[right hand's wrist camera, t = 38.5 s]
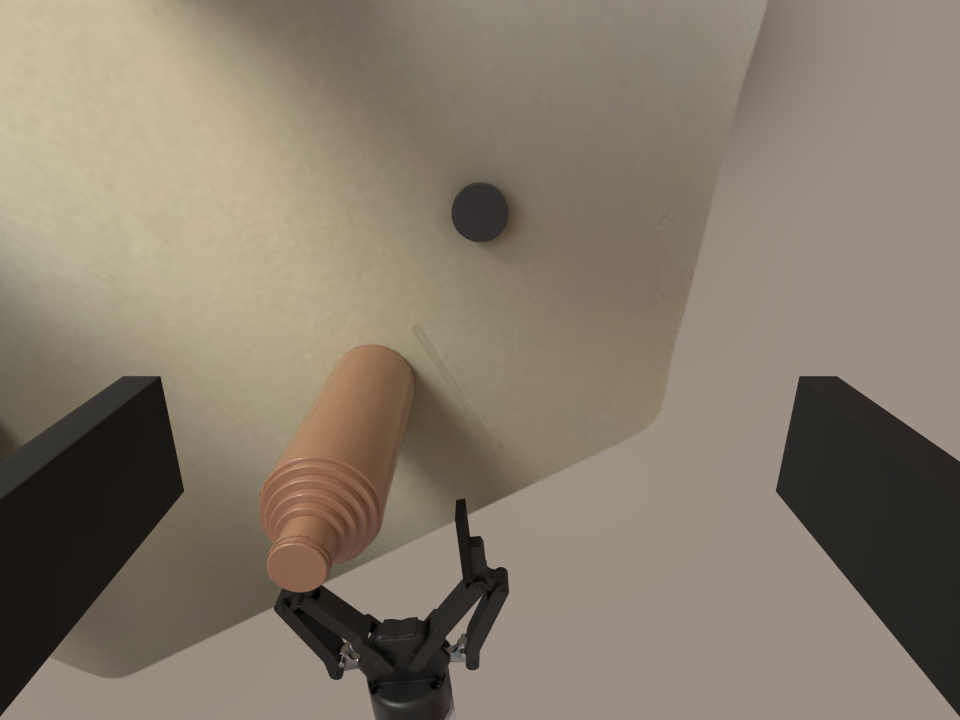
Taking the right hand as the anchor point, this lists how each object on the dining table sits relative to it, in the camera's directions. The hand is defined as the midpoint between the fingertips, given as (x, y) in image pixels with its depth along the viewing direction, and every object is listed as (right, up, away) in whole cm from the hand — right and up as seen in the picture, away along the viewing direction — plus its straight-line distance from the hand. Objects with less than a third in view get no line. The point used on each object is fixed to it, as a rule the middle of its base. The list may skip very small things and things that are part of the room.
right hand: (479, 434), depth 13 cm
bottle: (-9, 0, +40) cm, 41 cm away
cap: (0, +13, +34) cm, 36 cm away
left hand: (-8, -11, +37) cm, 40 cm away
